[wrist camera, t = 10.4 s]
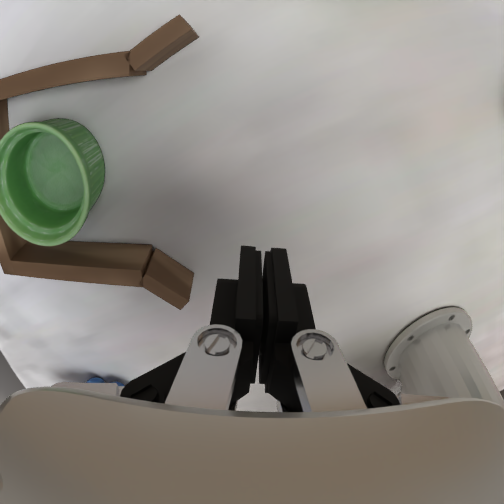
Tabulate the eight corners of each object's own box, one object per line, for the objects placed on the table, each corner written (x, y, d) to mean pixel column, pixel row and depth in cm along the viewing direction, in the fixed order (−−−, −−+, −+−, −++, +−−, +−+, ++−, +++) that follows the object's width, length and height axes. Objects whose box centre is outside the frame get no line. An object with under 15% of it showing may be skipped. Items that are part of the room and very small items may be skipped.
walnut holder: (194, 282, 26) (189, 310, 23) (28, 269, 25) (11, 291, 22) (200, 24, 15) (192, 13, 12) (-5, 62, 14) (-33, 66, 11)
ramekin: (53, 233, 23) (29, 262, 19) (6, 147, 18) (-26, 164, 15) (132, 193, 22) (112, 220, 18) (82, 88, 17) (49, 95, 13)
